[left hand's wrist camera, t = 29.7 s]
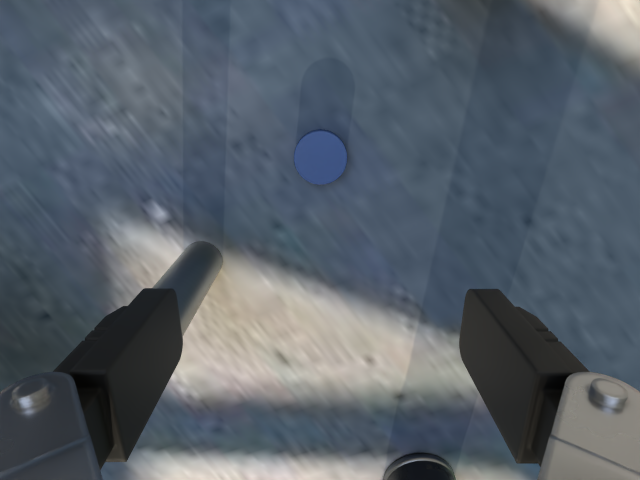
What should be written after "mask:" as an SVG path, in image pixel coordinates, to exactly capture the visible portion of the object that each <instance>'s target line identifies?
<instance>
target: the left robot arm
mask: <svg viewBox="0 0 640 480" xmlns="http://www.w3.org/2000/svg"><path fill="white" fill-rule="evenodd" d="M182 346H183V338H182V330H181V323H180V315H179V308H178V301H177V295H176V292H175V290H174V289H172V288H145V289H143V290H142V291H141V292H140V293H139V294H138V295H137V296H136V298H135V299H134V300H133V301H132V302H131V303H130V304H129V305H128V306H123V307H121V308H119V309H118V310H116V311H114V312H112V313H111V314H109V315H107V316H106V317H105V318H104V319H103V320H102V321H101V322H100V323H99V324H98V325H97V326H96V327H95V330H94V331H91V332H90V333H89V334H88V335H87V337H86V338H85V341H82V342H81V343H80V344H79V345H78V346H77V347H76V348H75V349H74V350H73V351H72V352H71V353H70V354H69V355H68V356H67V357H66V359H65V360H64V361H63V362H62V363H61V364H60V365H59V366H58V367H57V368H56V369H55V370H54V371H53V372H47V373H41V374H37V375H33V376H30V377H27V378H25V379H22V380H20V381H18V382H16V383H14V384H12V385H10V386H9V387H7V388H5V389H4V390H3V391H1V392H0V480H103V479H102V475H101V472H100V470H101V468H102V466H103V465H104V463H105V462H126V461H127V460H128V458H129V456H130V454H131V452H132V450H133V448H134V446H135V444H136V442H137V440H138V439H139V437H140V435H141V433H142V431H143V429H144V427H145V425H146V423H147V421H148V419H149V418H150V416H151V414H152V412H153V410H154V408H155V406H156V404H157V402H158V400H159V398H160V397H161V395H162V393H163V391H164V389H165V387H166V385H167V383H168V381H169V379H170V377H171V376H172V374H173V372H174V370H175V368H176V366H177V364H178V362H179V360H180V357H181V353H182ZM459 346H460V353H461V358H462V361H463V363H464V365H465V366H466V368H467V370H468V372H469V374H470V376H471V378H472V380H473V382H474V383H475V385H476V387H477V389H478V391H479V393H480V395H481V397H482V399H483V400H484V402H485V404H486V406H487V408H488V410H489V412H490V414H491V415H492V417H493V419H494V421H495V423H496V425H497V427H498V429H499V431H500V432H501V434H502V436H503V438H504V440H505V442H506V444H507V446H508V448H509V449H510V451H511V453H512V455H513V457H514V459H515V461H516V463H538V464H539V465H540V467H541V468H540V472H539V475H538V479H537V480H640V392H639V391H637V390H636V389H635V388H633V387H631V386H630V385H628V384H626V383H624V382H622V381H620V380H618V379H615V378H613V377H610V376H607V375H603V374H599V373H593V372H589V371H588V370H587V369H586V368H585V367H584V365H583V364H582V363H581V362H580V361H579V360H578V359H577V358H576V357H575V356H574V355H573V354H572V353H571V352H570V351H569V350H568V349H567V348H566V347H565V346H564V345H563V344H562V343H561V342H558V338H557V337H556V336H555V335H554V334H553V333H552V332H551V331H548V328H547V327H546V326H545V325H544V324H543V323H542V322H541V321H540V320H539V319H538V318H537V317H536V316H534V315H532V314H531V313H529V312H527V311H526V310H524V309H522V308H520V307H515V306H514V305H513V304H512V303H511V302H510V301H509V300H508V299H507V298H506V297H505V295H504V294H503V293H502V292H501V291H500V290H498V289H469V290H468V291H467V293H466V297H465V303H464V310H463V317H462V324H461V332H460V340H459ZM383 480H456V479H455V476H454V473H453V470H452V468H451V466H450V465H449V464H448V463H447V462H446V461H445V460H443V459H442V458H440V457H437V456H435V455H431V454H412V455H408V456H405V457H403V458H400V459H399V460H397V461H395V462H394V463H393V464H392V465H391V466H390V467H389V468H388V469H387V471H386V473H385V475H384V479H383Z"/></svg>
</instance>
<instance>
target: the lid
mask: <svg viewBox="0 0 640 480" xmlns="http://www.w3.org/2000/svg"><path fill="white" fill-rule="evenodd" d="M294 163H295V167H296V169H297V171H298V173H299V174H300V175H301V176H302V177H303V178H304V179H305V180H306V181H308V182H310V183H313V184H318V185H323V184H328V183H331V182H333V181H335V180H336V179H337V178H339V177H340V176H341V174H342V173H343V171H344V169H345V167H346V164H347V152H346V148H345V146H344V144H343V142H342V140H341V139H340V138H339V137H338V136H337V135H336V134H334V133H332V132H330V131H327V130H314V131H311V132H309V133H307V134H305V135H304V136H303V137H302V138H301V139H300V141H299V142H298V144H297V146H296V149H295V153H294Z"/></svg>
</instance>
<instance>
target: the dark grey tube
mask: <svg viewBox="0 0 640 480" xmlns="http://www.w3.org/2000/svg"><path fill="white" fill-rule="evenodd" d="M221 267H222V256H221V254H220V252H219V250H218V249H217V248H216V247H215V246H213V245H212V244H210V243H207V242H195V243H192V244H191V245H189V246H188V247H187V248H186V249H185V251H184V252H183V253H182V254H181V255H180V256H179V258H178V259H177V260H176V261H175V262H174V263H173V265H172V266H171V267H170V268H169V269H168V270H167V272H166V273H165V274H164V275H163V276H162V277H161V279H160V280H159V281H158V282H157V283H156V284H155V286H154V287H153V288H172V289H174V290H175V292H176V295H177V301H178V308H179V315H180V323H181V330H182V337H183V335H184V333H185V331H186V329H187V328H188V326H189V324H190V322H191V321H192V319H193V317H194V315H195V313H196V312H197V310H198V308H199V306H200V305H201V303H202V301H203V299H204V297H205V296H206V294H207V292H208V290H209V289H210V287H211V285H212V283H213V281H214V280H215V278H216V276H217V274H218V273H219V271H220V269H221Z"/></svg>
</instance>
